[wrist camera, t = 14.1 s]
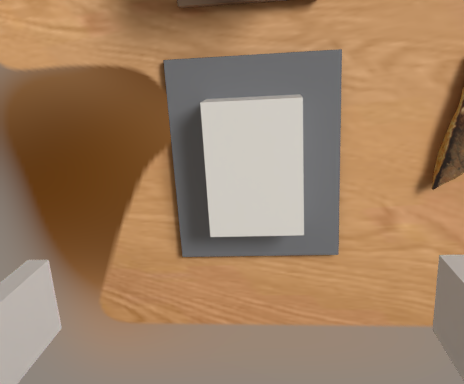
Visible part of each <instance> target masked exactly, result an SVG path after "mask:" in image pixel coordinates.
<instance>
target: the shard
mask: <svg viewBox="0 0 464 384" xmlns="http://www.w3.org/2000/svg"><path fill="white" fill-rule="evenodd" d="M463 173H464V87H463V90H462V95H461V100H460V103H459V106H458V108H457V111H456V112H455V114H454V116H453V119H452V121H451V123H450V125H449V128H448V130H447V133H446V135H445V137H444V139H443V143H442V145H441V147H440V149H439V152H438V156H437V159H436V166H435V169H434V174H433V183H432V189H435V188H437V187H439V186H441V185H442V184H444V183H446V182H449V181H450V180H453V179H455V178H456V177H458V176H460V175H461V174H463Z"/></svg>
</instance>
